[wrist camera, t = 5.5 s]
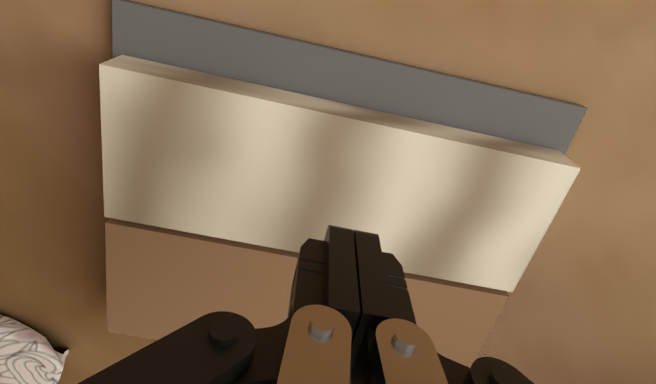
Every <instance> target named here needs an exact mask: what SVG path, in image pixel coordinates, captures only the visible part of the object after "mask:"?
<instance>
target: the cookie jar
mask: <svg viewBox="0 0 656 384" xmlns="http://www.w3.org/2000/svg"><path fill="white" fill-rule="evenodd" d="M68 352H69V350H66V351H65V353H64V354H61V353H59V352H57V351H55V350H54V349H53V348H52V346H51V345H50V343H49V342H48V341H47V339H46V338H45V337H44V336H42V335H41V334H39V333H38V332H36V331H35V330H33V329H31V328H30V327H28V326H26V325H24V324H22V323H20V322H18V321H16V320H14V319H12V318H9V317H6V316H3V315H0V384H58V381H59V379H60V377H61V373H62V371H63V367H64V362H65V359H66V357H67V355H68Z"/></svg>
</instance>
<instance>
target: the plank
mask: <svg viewBox="0 0 656 384" xmlns="http://www.w3.org/2000/svg"><path fill="white" fill-rule="evenodd" d="M99 78H100V107H101V136H102V165H103V194H104V217H108V218H113V219H119V220H124V221H130V222H135V223H141V224H146V225H151V226H157V227H162V228H168V229H173V230H178V231H184V232H189V233H195V234H200V235H205V236H211V237H216V238H222V239H227V240H233V241H238V242H243V243H249V244H254V245H260V246H265V247H270V248H276V249H281V250H287V251H292V252H297V253H299V252H300V247H301V246H302V245H303V244H304V243H305V242H306V241H307V239H308V238H311V239H317V240H322V241H324V238H325V235H326V231H327V228H328V225H332V226H338V227H343V228H348V229H353V230H359V231H364V232H369V233H374V234H378V235H379V239H380V245H381V250H382V252H386V253H391V254H393V255H394V256H395V257H396V259H397V260H398V261H399V262H400V264H401V265H402V267H403V271H404V272H406V273H411V274H416V275H422V276H427V277H433V278H438V279H444V280H449V281H454V282H460V283H465V284H471V285H476V286H481V287H487V288H492V289H498V290H503V291H508V292H513V291H514V289H515V287H516V285H517V283H518V281H519V280H520V278H521V276H522V274H523V272H524V271H525V269H526V267H527V265H528V263H529V261H530V260H531V258H532V256H533V254H534V252H535V251H536V249H537V247H538V245H539V243H540V242H541V240H542V238H543V236H544V234H545V232H546V231H547V229H548V227H549V225H550V223H551V222H552V220H553V218H554V216H555V214H556V213H557V211H558V209H559V207H560V205H561V203H562V202H563V200H564V198H565V196H566V194H567V193H568V191H569V189H570V187H571V185H572V183H573V182H574V180H575V178H576V176H577V174H578V173H579V171H580V169H581V168H580V167H578V166H577V165H576V164H575V163H573V162H572V161H571V160H570V159H568V158H567V157H566V156H565V155H564V154H562V153H561V152H560V151H558V150H554V149H549V148H545V147H540V146H536V145H531V144H526V143H522V142H517V141H513V140H508V139H504V138H499V137H495V136H490V135H485V134H481V133H476V132H472V131H467V130H463V129H458V128H454V127H449V126H444V125H440V124H435V123H431V122H426V121H422V120H417V119H413V118H408V117H403V116H399V115H394V114H390V113H385V112H381V111H376V110H372V109H367V108H363V107H358V106H353V105H349V104H344V103H340V102H335V101H331V100H326V99H322V98H317V97H312V96H308V95H303V94H299V93H294V92H290V91H285V90H281V89H276V88H271V87H267V86H262V85H258V84H253V83H249V82H244V81H240V80H235V79H230V78H226V77H221V76H217V75H212V74H208V73H203V72H199V71H194V70H189V69H185V68H180V67H176V66H171V65H167V64H162V63H158V62H153V61H148V60H144V59H139V58H135V57H130V56H126V55H120V56H118V57H115V58H113V59H110V60H108V61H105V62H103V63H101V64H99Z"/></svg>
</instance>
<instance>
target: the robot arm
mask: <svg viewBox="0 0 656 384" xmlns="http://www.w3.org/2000/svg"><path fill="white" fill-rule="evenodd" d="M78 384H534V383H533V382H531V381H530V380H529V379H528V378H527V377H525V376H524V375H523V374H522V373H521V372H519V371H518V370H517V369H516V368H514V367H513V366H511V365H510V364H508V363H506V362H504V361H502V360H499V359H496V358H492V357H481V358H478V359H476V360H475V361H474V362H473V363H472V365H471V367H470V368H469V367H467V366H464V365H462V364H460V363H458V362H455V361H453V360H451V359H448V358H446V357H444V356H442V355H441V354H439V353H437V352H436V349H435V346H434V344H433V342H432V340H431V338H430V337H429V335H428V334H427V333H426V332H425V331H424V330H423V329H422V328H420V327H419V326H417V324H416V320H415V316H414V312H413V308H412V304H411V300H410V296H409V292H408V290H407V284H406V280H405V275H404V271H403V267H402V265H401V264H400V262H399V261H398V260H397V259H396V257H395V256H394V255H393V254H391V253H386V252H382V250H381V245H380V239H379V235H378V234H374V233H369V232H364V231H359V230H353V229H348V228H343V227H338V226H332V225H328V228H327V231H326V235H325V238H324V241H322V240H317V239H311V238H308V239H307V241H306V242H305V243H304V244H303V245H302V246H301V247H300V252H299V256H298V261H297V265H296V269H295V274H294V278H293V283H292V287H291V294H290V302H289V309H288V317H287V319H286V320H285V321H283V322H282V323H280V324H278V325H275V326H272V327H266V328H257V329H255V328H254V326H253V325H252V323H251V322H250V321H249V320H248V319H246V318H245V317H243V316H241V315H239V314H236V313H233V312H227V311H217V312H212V313H208V314H206V315H203V316H201V317H199V318H198V319H196V320H194V321H192V322H190V323H188V324H187V325H185V326H183V327H181V328H179V329H177V330H176V331H174V332H172V333H170V334H168V335H166V336H165V337H163V338H161V339H159V340H157V341H155V342H154V343H152V344H150V345H148V346H146V347H144V348H142V349H141V350H139V351H137V352H135V353H133V354H131V355H130V356H128V357H126V358H124V359H122V360H120V361H119V362H117V363H115V364H113V365H111V366H109V367H108V368H106V369H104V370H102V371H100V372H98V373H97V374H95V375H93V376H91V377H89V378H87V379H86V380H84V381H82V382H80V383H78Z"/></svg>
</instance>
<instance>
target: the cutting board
mask: <svg viewBox="0 0 656 384" xmlns="http://www.w3.org/2000/svg"><path fill="white" fill-rule="evenodd" d="M120 55H126V56H130V57H135V58H139V59H144V60H148V61H153V62H158V63H162V64H167V65H171V66H176V67H180V68H185V69H189V70H194V71H199V72H203V73H208V74H212V75H217V76H221V77H226V78H230V79H235V80H240V81H244V82H249V83H253V84H258V85H262V86H267V87H271V88H276V89H281V90H285V91H290V92H294V93H299V94H303V95H308V96H312V97H317V98H322V99H326V100H331V101H335V102H340V103H344V104H349V105H353V106H358V107H363V108H367V109H372V110H376V111H381V112H385V113H390V114H394V115H399V116H403V117H408V118H413V119H417V120H422V121H426V122H431V123H435V124H440V125H444V126H449V127H454V128H458V129H463V130H467V131H472V132H476V133H481V134H485V135H490V136H495V137H499V138H504V139H508V140H513V141H517V142H522V143H526V144H531V145H536V146H540V147H545V148H549V149H554V150H558V151H560V152H561V153H562V154H564V155H565V153H566V151H567V149H568V147H569V145H570V143H571V141H572V139H573V137H574V135H575V133H576V131H577V129H578V127H579V125H580V123H581V121H582V119H583V117H584V115H585V113H586V111H587V109H588V108H586V107H584V106H582V105H579V104H575V103H570V102H566V101H562V100H557V99H553V98H549V97H544V96H540V95H536V94H531V93H527V92H523V91H518V90H514V89H510V88H505V87H501V86H497V85H492V84H488V83H484V82H479V81H475V80H471V79H467V78H462V77H458V76H454V75H449V74H445V73H441V72H436V71H432V70H428V69H423V68H419V67H415V66H410V65H406V64H402V63H397V62H393V61H389V60H384V59H380V58H376V57H371V56H367V55H363V54H358V53H354V52H350V51H346V50H341V49H337V48H333V47H328V46H324V45H320V44H315V43H311V42H307V41H302V40H298V39H294V38H289V37H285V36H281V35H276V34H272V33H268V32H263V31H259V30H255V29H250V28H246V27H242V26H237V25H233V24H229V23H224V22H220V21H216V20H212V19H207V18H203V17H199V16H194V15H190V14H186V13H181V12H177V11H173V10H168V9H164V8H160V7H155V6H151V5H147V4H142V3H138V2H134V1H129V0H112V58H115V57H118V56H120ZM105 250H106V300H107V332H108V333H114V334H120V335H126V336H132V337H139V338H145V339H151V340H159V339H161V338H163V337H165V336H166V335H168V334H170V333H172V332H174V331H176V330H177V329H179V328H181V327H183V326H185V325H187V324H188V323H190V322H192V321H194V320H196V319H198V318H199V317H201V316H203V315H206V314H208V313H212V312H217V311H227V312H233V313H236V314H239V315H241V316H243V317H245V318H246V319H248V320H249V321H250V322H251V323H252V325H253V326H254V328H255V329H257V328H266V327H272V326H275V325H278V324H280V323H282V322H283V321H285V320H286V319H287V317H288V309H289V302H290V294H291V287H292V283H293V278H294V274H295V269H296V265H297V261H298V256H299V253H297V252H292V251H287V250H281V249H276V248H270V247H265V246H260V245H254V244H249V243H243V242H238V241H233V240H227V239H222V238H216V237H211V236H205V235H200V234H195V233H189V232H184V231H178V230H173V229H168V228H162V227H157V226H151V225H146V224H141V223H135V222H130V221H124V220H119V219H113V218H109V219H108V220H107V221H106V222H105ZM404 275H405V280H406V284H407V290H408V292H409V296H410V300H411V304H412V308H413V312H414V316H415V320H416V324H417V326H419V327H420V328H422V329H423V330H424V331H425V332H426V333H427V334H428V335H429V337H430V338H431V340H432V342H433V344H434V346H435V349H436V352H437V353H439V354H441V355H442V356H444V357H446V358H448V359H451V360H453V361H455V362H458V363H460V364H462V365H464V366H467V367H469V368H470V367H471V365H472V363H473V362H474V361H475V360H476V359H477V357H478V355H479V354H480V352H481V350H482V348H483V346H484V344H485V342H486V340H487V338H488V336H489V335H490V333H491V331H492V329H493V327H494V325H495V323H496V321H497V319H498V318H499V316H500V314H501V312H502V310H503V308H504V306H505V304H506V302H507V300H508V299H509V295H508V294H507V292H506V291H503V290H498V289H492V288H487V287H481V286H476V285H471V284H465V283H460V282H454V281H449V280H444V279H438V278H433V277H427V276H422V275H416V274H411V273H406V272H404Z"/></svg>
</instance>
